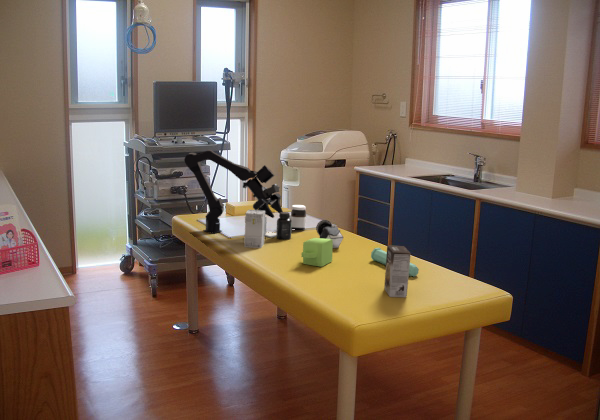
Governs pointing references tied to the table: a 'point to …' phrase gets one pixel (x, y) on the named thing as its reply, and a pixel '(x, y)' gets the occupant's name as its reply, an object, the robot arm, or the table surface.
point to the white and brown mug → (298, 217)
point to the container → (381, 257)
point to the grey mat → (270, 234)
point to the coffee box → (397, 271)
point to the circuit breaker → (255, 228)
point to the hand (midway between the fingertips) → (278, 215)
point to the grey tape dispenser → (329, 232)
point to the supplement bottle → (284, 226)
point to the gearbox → (317, 251)
